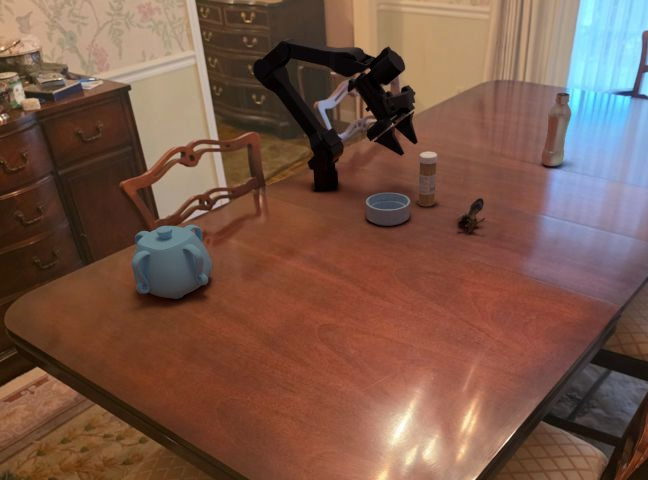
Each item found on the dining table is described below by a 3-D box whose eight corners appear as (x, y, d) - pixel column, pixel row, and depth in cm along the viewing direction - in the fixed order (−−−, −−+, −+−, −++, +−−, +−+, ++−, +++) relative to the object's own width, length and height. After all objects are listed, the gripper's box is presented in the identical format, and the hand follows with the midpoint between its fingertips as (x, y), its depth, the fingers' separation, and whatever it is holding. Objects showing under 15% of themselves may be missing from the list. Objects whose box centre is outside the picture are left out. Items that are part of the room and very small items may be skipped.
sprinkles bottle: (429, 199, 168) (431, 149, 160) (438, 205, 165) (441, 154, 156) (414, 202, 166) (416, 152, 158) (423, 208, 163) (425, 158, 155)
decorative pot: (211, 302, 129) (200, 243, 121) (133, 308, 128) (116, 249, 120) (216, 264, 142) (206, 209, 134) (145, 270, 141) (131, 214, 133)
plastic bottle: (538, 167, 184) (549, 96, 171) (542, 159, 188) (553, 90, 176) (560, 169, 182) (573, 98, 169) (563, 162, 186) (576, 92, 174)
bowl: (367, 228, 155) (367, 211, 152) (365, 209, 164) (364, 193, 161) (412, 226, 155) (412, 209, 152) (407, 207, 164) (407, 191, 161)
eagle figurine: (492, 229, 149) (490, 208, 155) (479, 208, 145) (476, 187, 151) (464, 243, 153) (462, 221, 159) (450, 223, 149) (449, 202, 155)
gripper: (381, 85, 143) (419, 143, 147) (412, 67, 156) (446, 121, 160) (349, 113, 151) (386, 167, 154) (381, 94, 164) (414, 144, 167)
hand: (409, 149), depth 159 cm, fingers open, 9 cm apart
